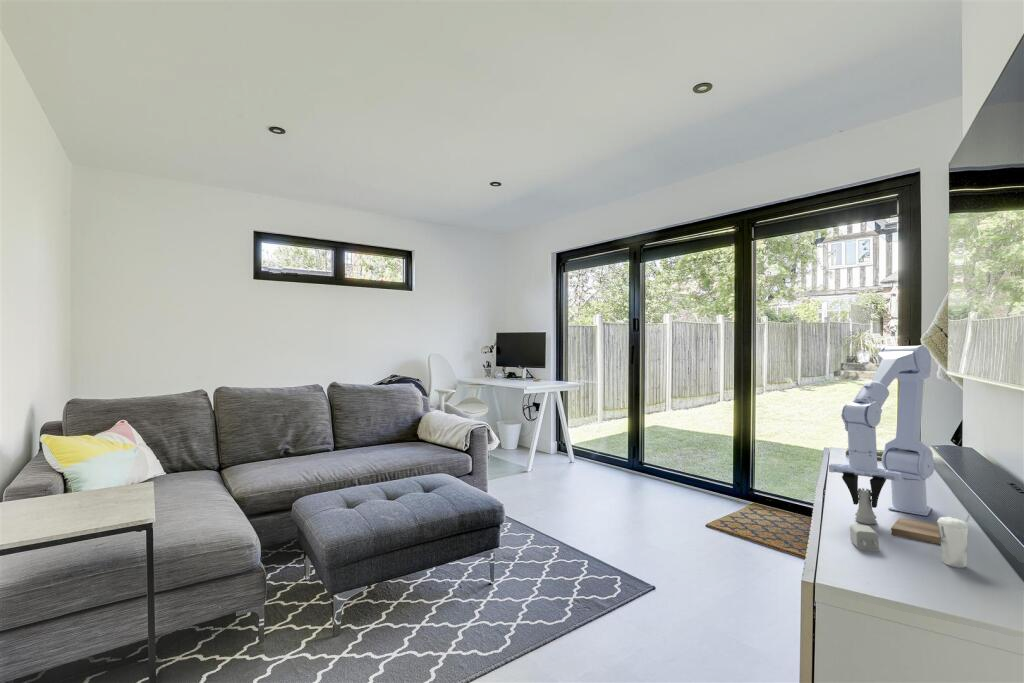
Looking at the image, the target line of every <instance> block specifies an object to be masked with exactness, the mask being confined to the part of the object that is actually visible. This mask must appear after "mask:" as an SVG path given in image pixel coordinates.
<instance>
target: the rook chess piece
mask: <svg viewBox="0 0 1024 683" xmlns="http://www.w3.org/2000/svg"><path fill="white" fill-rule="evenodd" d="M857 494H858V497H859V498H858V499H859V503H858V508H857V510H856V512H855V514H854V515H855V517H854V519H855V520H856V522H858V523H861V524H862V525H863V524H864V525H875V524H876V523H877V522H878V521H877V520H876V519H877V515H876V514H875V512H874V511H873V507H872V504H871V502H872V493H871V489H869V488H866V489H865V487H862V488H858V491H857Z"/></svg>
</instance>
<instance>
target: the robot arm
mask: <svg viewBox="0 0 1024 683" xmlns="http://www.w3.org/2000/svg"><path fill="white" fill-rule="evenodd" d="M877 360H878V367H877V369H876V371H875V373H874V376H873V378H872V379H871V381H867V382H865V383H864V384H863V385H862V387H861V388H860V390H859V391H858V392H857V394H856V396H855V397H854V399H853V401H851V402H848V403H846V404H844V406H843V407H842V410H841V420H842V422H843V423H844V430H845V431H846V432H847V443H848V444H847V445H848V462H849V464H840V463H839V464H838V463H829V464H828V472H829V473H839V474H842V475H841V477H842V478H841V479H842V481H843V482H844V483H845V485H846V487H847V488H848V490H849V494H850V495H851V499H852V503H853V505H856V506H857V505H859V499H858V498H859V495H858V494H857V491H858V489H859V488H858V487H859V482H858V481H859V477H860V476H861V477H868V478H870V479H869V484H870V490H871V493H872V496H871V500H872V501H871V506H872V509H873V508H874V509H876V508H878V501H879V497H880V494H881V492H882V489H883V487H884V485H885V484H886V482H887V480H888V481H889V480H890V481H891V482H890V484H891V486H890V488H891V502H892V503H890V505H889V506H888V507H887V510H890V511H897V512H902V513H908V514H914V515H918V516H925V517H927V516H928V515H929V514H930V512H931V511H932V509H933V506H932V505H928V499H927V496H928V495H927V482H926V480H927V479H929V478H930V477H931V476H932V475H933V474H934V470H935V460H934V457H933V450H932V449H931V448H929V446H927V445H926V444H925V443H923V442H922V441H921V427H922V426H921V425H922V413H923V412H922V411H923V400H924V399H923V395H924V384H925V383H924V380H925V379H928V378H929V377H930V376H931V370H932V355H931V353H930V351H929V348H928V347H927V346H925V345H923V344H920V345H905V346H904V345H900V346H899V345H898V346H897V345H896V346H895V345H894V346H889V345H884V346H882V347H881V348H880V349H879V351H878V354H877ZM895 378H896V379H897V380H898V382H899V388H898V389H899V390H898V405H897V419H896V434H895V437H894V438H893V439H892V440H890V441H888V442H886V443H885V445H884V449H883V453H882V454H881V465H882V467H883V469H882V468H878V456H877V455H878V452H877V451H878V450H877V433H876V431H877V430H876V427H877V426H879V424H880V423H881V419H882V418H881V417H882V412H883V409H882V407H883V405H884V404H885V402H886V401H887V399H888V398H889V396H890V391H889V389H888V387H889V386H890V385H891V384H892V382H893V381H895ZM904 450H906V451H904ZM911 451H912V452H911Z"/></svg>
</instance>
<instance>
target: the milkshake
mask: <svg viewBox="0 0 1024 683" xmlns="http://www.w3.org/2000/svg"><path fill="white" fill-rule="evenodd" d="M970 518H971V514H970V513H969V514H968V515H967V518H966V519H965V521H964V520H961V519H959V518H956V517H951V516H941V517H939V518H938V519H937V520H936V524H937V525H938V529H939V534H940V541H941V544H940V545H941V546H940V547H941V555H942V560H943V563H944V564H945V565H947V566H949V567H953V568H959V569H964V568H966V567H967V553H968V536H969V524H968V522H969V519H970Z"/></svg>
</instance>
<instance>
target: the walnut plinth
mask: <svg viewBox="0 0 1024 683" xmlns="http://www.w3.org/2000/svg"><path fill="white" fill-rule="evenodd" d="M890 532H891V535H893V536H898V537H902V538H908V539H912V540H917V541H921V542H926V543H932V544H938V545H941V541H940V534H939V529H938V523H936V524H935V523H932V522H931V523H930V522H927V521H926V522H925V521H920V520H914V519H909V518H903V517H898V518H897V519H896V521H895V522H894V523H893V525H892V526H891V528H890Z"/></svg>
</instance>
